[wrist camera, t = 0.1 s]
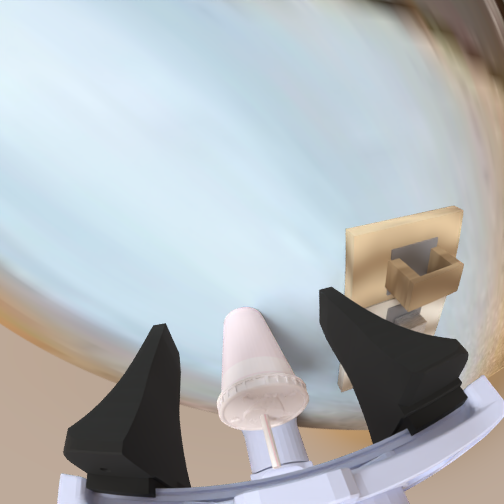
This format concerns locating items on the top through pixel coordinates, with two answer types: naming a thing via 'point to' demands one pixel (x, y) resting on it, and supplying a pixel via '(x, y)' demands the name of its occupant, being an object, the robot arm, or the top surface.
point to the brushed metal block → (412, 321)
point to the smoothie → (257, 379)
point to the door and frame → (404, 267)
